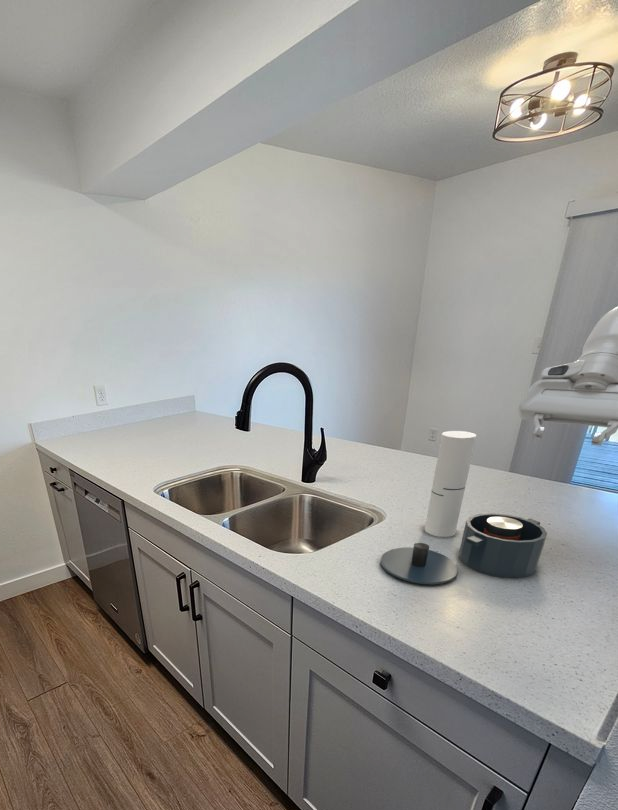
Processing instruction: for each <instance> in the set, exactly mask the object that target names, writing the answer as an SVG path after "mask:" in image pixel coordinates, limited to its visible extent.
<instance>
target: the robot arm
mask: <svg viewBox="0 0 618 810" xmlns="http://www.w3.org/2000/svg"><path fill="white" fill-rule="evenodd" d="M517 409H518V416H519V417H520V419H521V420H525V421H533V425H534V430H533V432H532V438H533V439H541V440H542V439H543V437H544V436H545V434H546V427H544V426H541V425H544V422H548V423H556V424H557V423H558V424H567V425H579V426H589V427H599V428H600V427H601V428H605V429H604V430H603V431H601V432H594V435H593V436H592V439H591V445H592V446H599V447H602V445H603V443H604V442H605V440H607V439H608V438H609V437H611V436H613V435H614V434H616V433H617V431H618V306H616V307H614V308H612V309H611V310H609V311H607V312H606V313H605V314H604V315H603V316H601V318H600V319H599V320H598V321H597V323H596V324H595V325H594V326H593V328H592V330H591V332H590V333H589V335H588V337H587V338H586V341H585V343H584V345H583V347H582V350H581V355H580V356H579V357H578V358H577V360H576V361H573V362H568V363H565V364H561V365H554V366H550V367H546V368H544V369H542V371H541V373H540V377H539V380H536V381H535V382H534V383H532V384H531V386H530V387H529V388H528V390H527V391H526V392H525V394H524V395H523V397H522V398H521V401H520V402H519V404H518V408H517Z"/></svg>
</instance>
